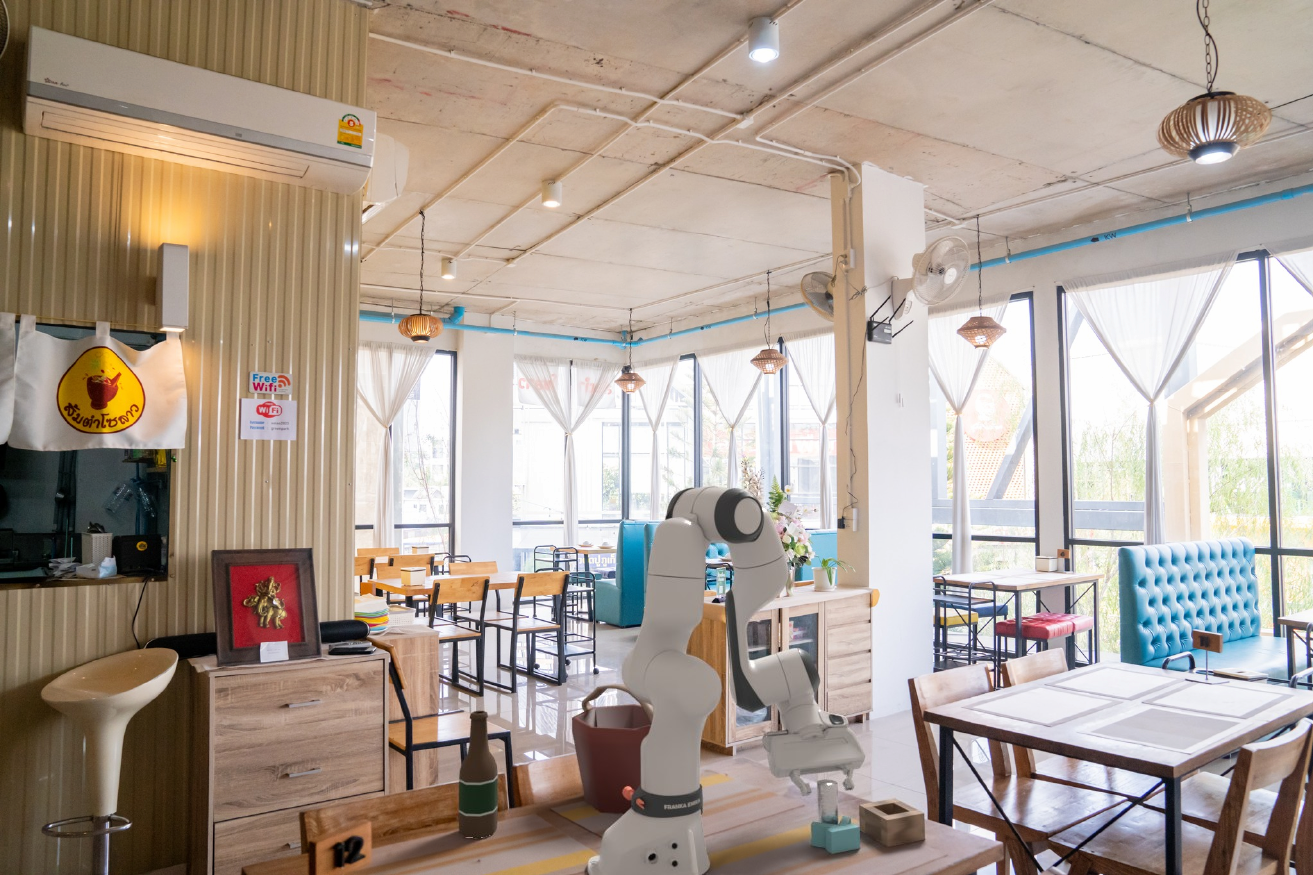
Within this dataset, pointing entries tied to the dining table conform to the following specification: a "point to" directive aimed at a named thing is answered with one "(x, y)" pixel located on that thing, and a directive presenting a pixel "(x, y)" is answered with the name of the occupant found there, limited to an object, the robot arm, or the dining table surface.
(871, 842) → the dining table surface
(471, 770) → the beer bottle
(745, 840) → the dining table surface
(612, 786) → the bucket
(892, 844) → the walnut block
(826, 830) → the teal V-block
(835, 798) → the steel axle
